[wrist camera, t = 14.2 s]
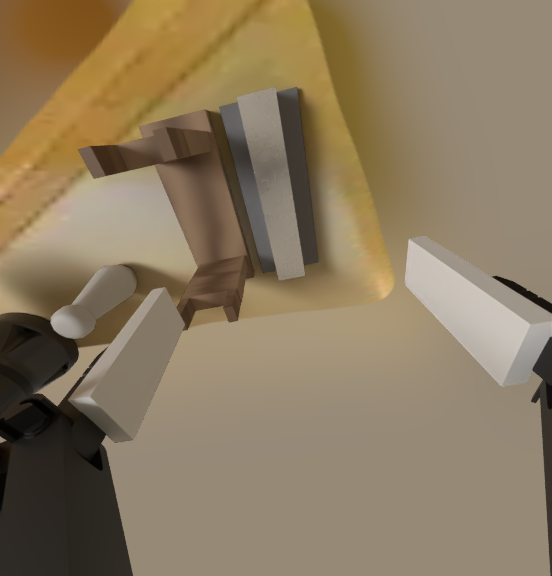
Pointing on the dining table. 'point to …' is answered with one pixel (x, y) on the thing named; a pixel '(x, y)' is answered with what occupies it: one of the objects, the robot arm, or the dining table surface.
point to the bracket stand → (190, 204)
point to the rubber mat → (297, 174)
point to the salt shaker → (95, 301)
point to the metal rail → (272, 179)
